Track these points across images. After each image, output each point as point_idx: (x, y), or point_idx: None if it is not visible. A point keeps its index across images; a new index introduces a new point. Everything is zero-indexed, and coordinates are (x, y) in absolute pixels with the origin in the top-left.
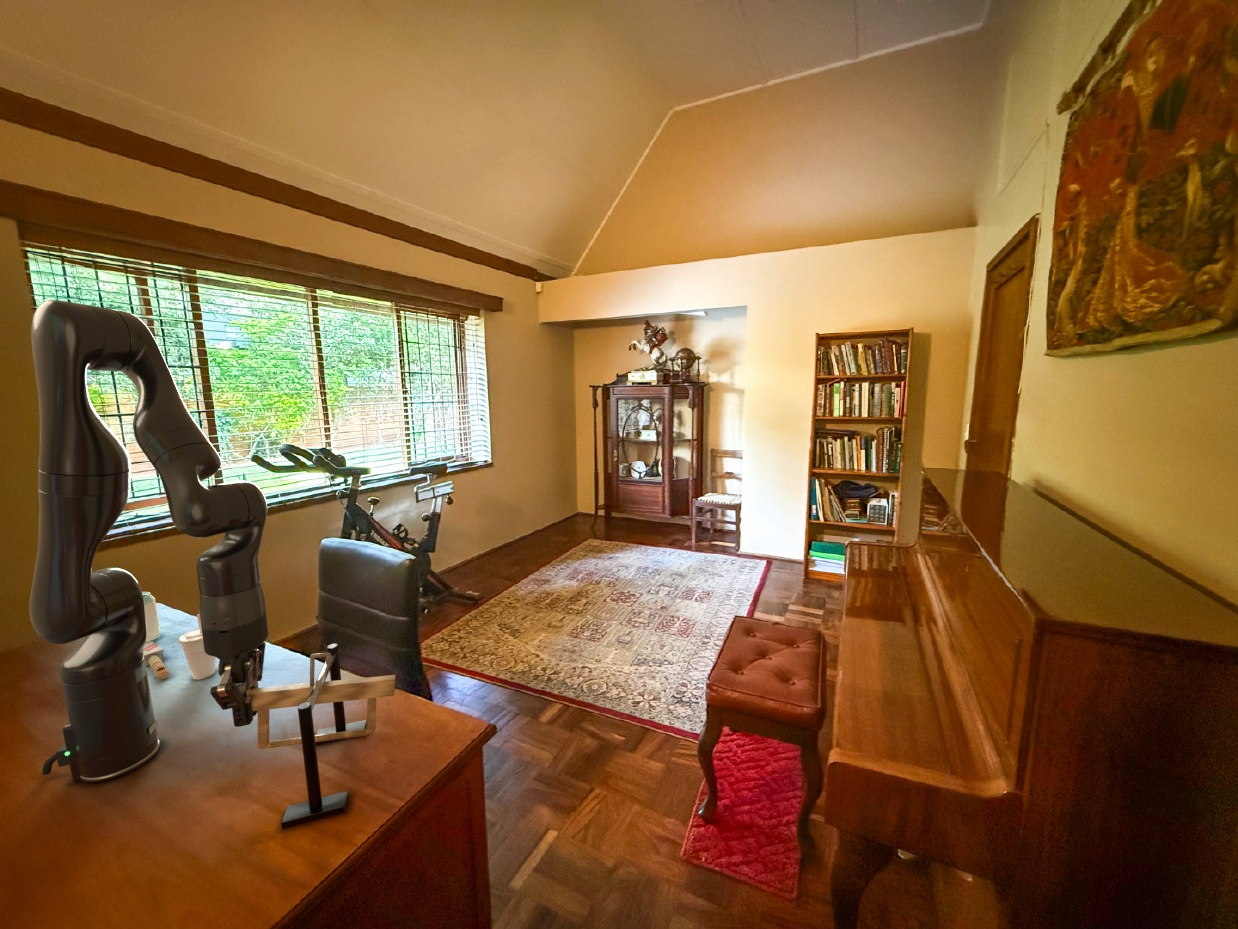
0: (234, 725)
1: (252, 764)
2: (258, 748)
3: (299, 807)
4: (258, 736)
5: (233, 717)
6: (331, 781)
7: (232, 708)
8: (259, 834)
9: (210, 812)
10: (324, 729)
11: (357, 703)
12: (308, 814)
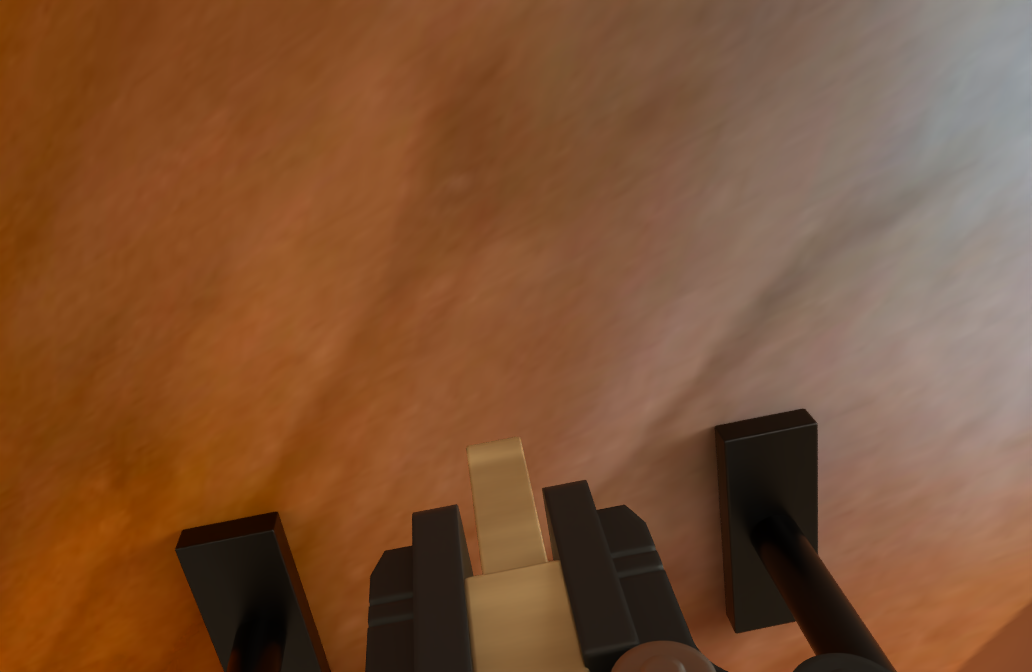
0: (413, 515)
1: (652, 165)
2: (469, 449)
3: (257, 582)
4: (475, 515)
5: (414, 575)
6: None
7: (417, 656)
8: (158, 454)
9: (311, 139)
10: (807, 455)
11: (1012, 491)
12: (216, 631)
